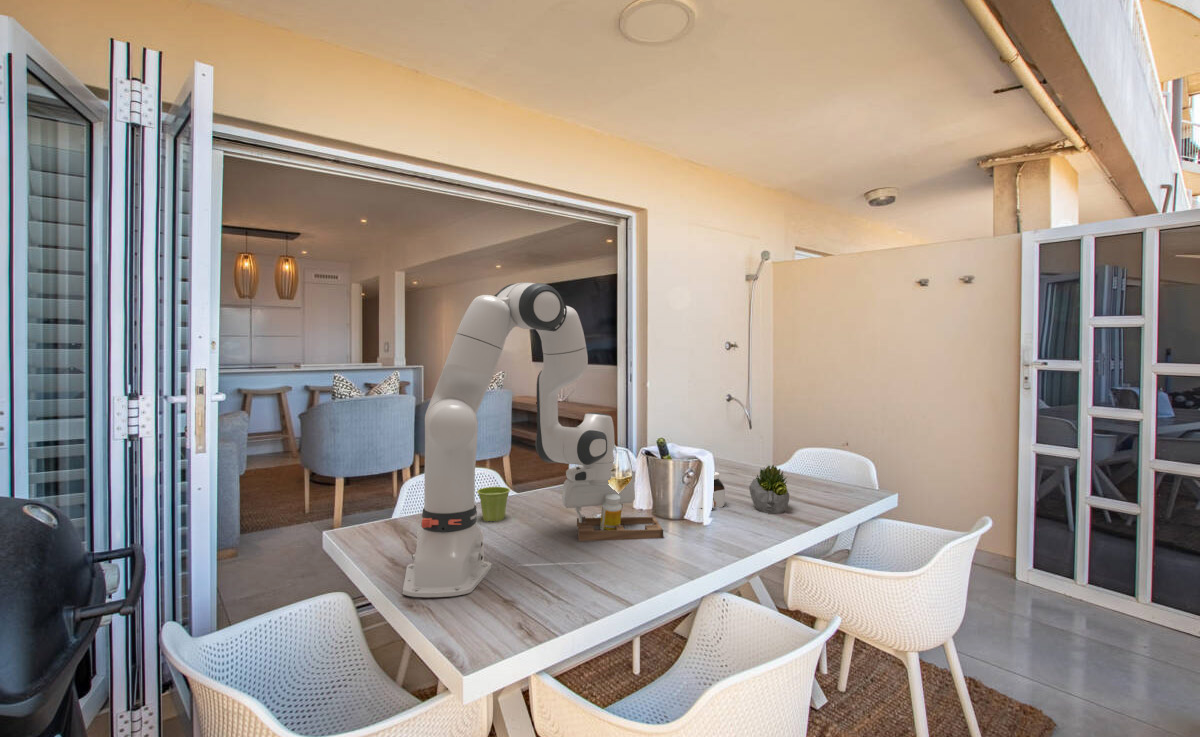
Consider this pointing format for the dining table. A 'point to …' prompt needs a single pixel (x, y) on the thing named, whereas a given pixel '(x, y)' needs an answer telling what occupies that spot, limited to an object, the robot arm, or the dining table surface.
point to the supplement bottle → (610, 512)
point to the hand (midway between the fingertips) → (598, 520)
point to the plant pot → (493, 502)
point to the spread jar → (718, 492)
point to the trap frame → (619, 529)
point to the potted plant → (769, 491)
